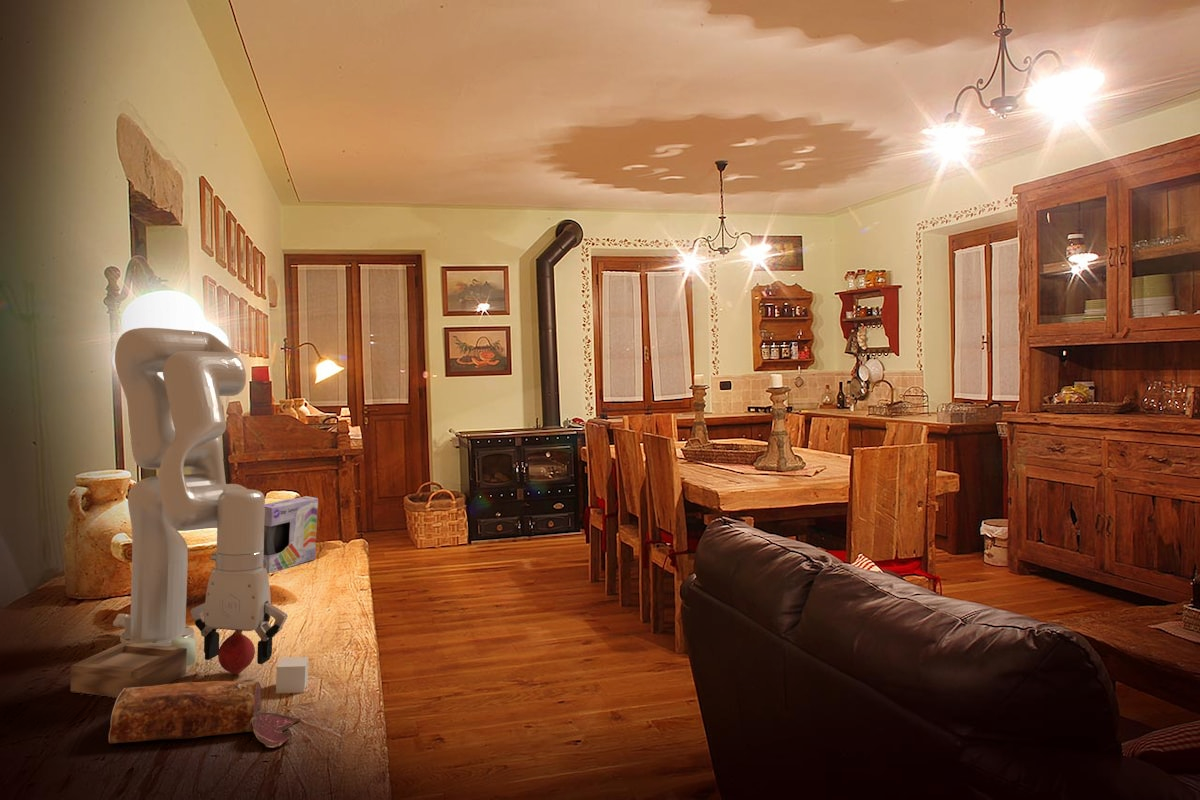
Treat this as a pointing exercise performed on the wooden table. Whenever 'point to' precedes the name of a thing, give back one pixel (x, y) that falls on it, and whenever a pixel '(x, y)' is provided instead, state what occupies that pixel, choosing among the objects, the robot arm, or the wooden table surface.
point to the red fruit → (236, 653)
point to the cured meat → (195, 713)
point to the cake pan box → (289, 532)
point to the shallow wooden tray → (128, 668)
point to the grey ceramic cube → (292, 675)
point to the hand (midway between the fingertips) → (237, 659)
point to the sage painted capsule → (186, 643)
